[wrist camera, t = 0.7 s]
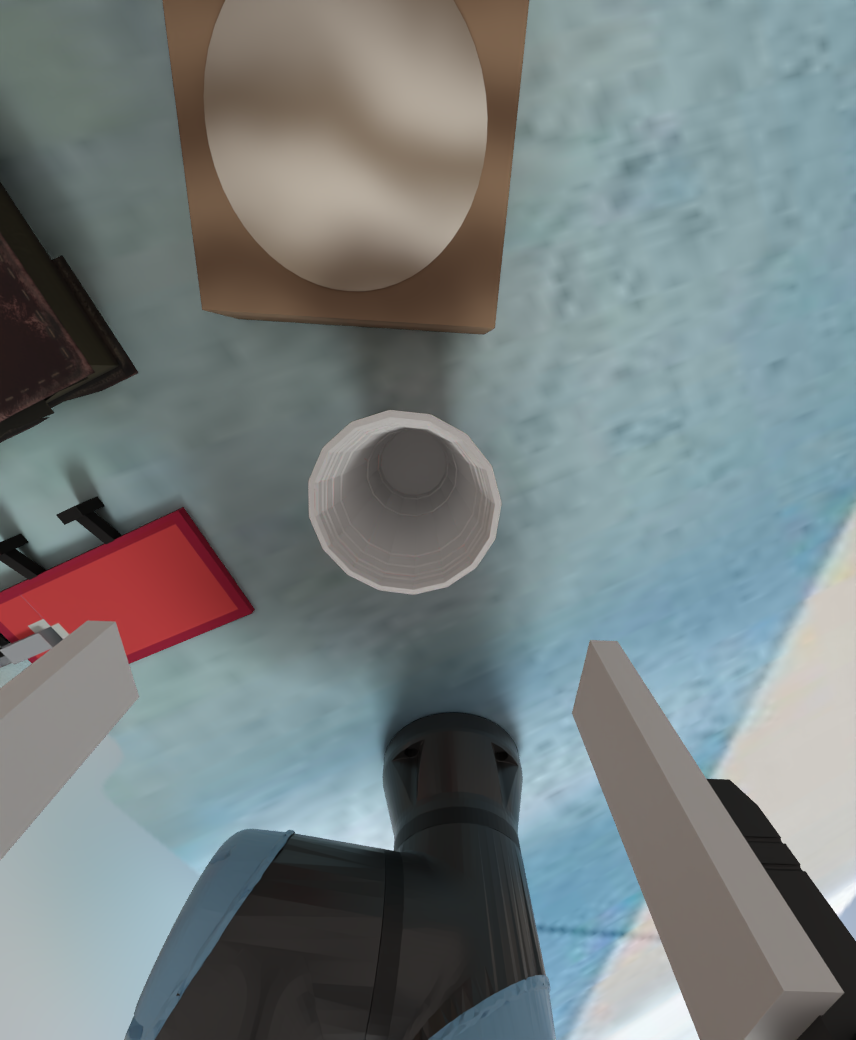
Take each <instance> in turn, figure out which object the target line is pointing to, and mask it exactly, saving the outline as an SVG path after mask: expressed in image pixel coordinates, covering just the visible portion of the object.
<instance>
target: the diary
mask: <svg viewBox="0 0 856 1040" xmlns="http://www.w3.org/2000/svg"><path fill="white" fill-rule="evenodd" d="M137 373H138V371H137V370H136V368H135V366H134V365H133V363H132V362H131V360H130V359H129V357H128V356H127V354H126V353H125V351H124V350H123V348H122V346H121V345H120V343H119V342H118V340H117V339H116V337H115V336H114V334H113V333H112V331H111V330H110V328H109V326H108V325H107V323H106V322H105V320H104V319H103V317H102V316H101V314H100V313H99V311H98V310H97V308H96V307H95V305H94V303H93V302H92V300H91V299H90V297H89V296H88V294H87V293H86V291H85V290H84V288H83V287H82V285H81V283H80V282H79V280H78V279H77V277H76V276H75V274H74V273H73V271H72V270H71V268H70V267H69V265H68V263H67V262H66V260H65V259H64V257H63V256H60V257H58V258H56V259H54V260H51V259H50V257H49V256H48V254H47V253H46V251H45V250H44V248H43V247H42V245H41V243H40V242H39V240H38V239H37V237H36V236H35V234H34V233H33V231H32V230H31V228H30V227H29V225H28V224H27V222H26V221H25V219H24V217H23V216H22V214H21V213H20V211H19V210H18V208H17V207H16V205H15V204H14V202H13V201H12V199H11V198H10V196H9V194H8V193H7V191H6V190H5V188H4V187H3V185H2V184H1V182H0V443H1V442H3V441H4V440H6V439H9V438H11V437H13V436H15V435H17V434H19V433H21V432H23V431H25V430H28V429H30V428H32V427H34V426H35V425H37V424H39V423H41V422H42V421H44V420H46V419H48V418H49V417H47V418H43V417H45V416H48V415H50V414H53V413H54V412H53V410H52V409H51V408H52V407H54V406H56V405H58V404H60V403H62V402H64V401H67V400H71V399H74V398H78V397H81V396H85V395H88V394H92V393H95V392H99V391H102V390H104V389H106V388H108V387H110V386H113V385H115V384H117V383H119V382H121V381H123V380H125V379H127V378H129V377H131V376H133V375H135V374H137Z"/></svg>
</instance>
